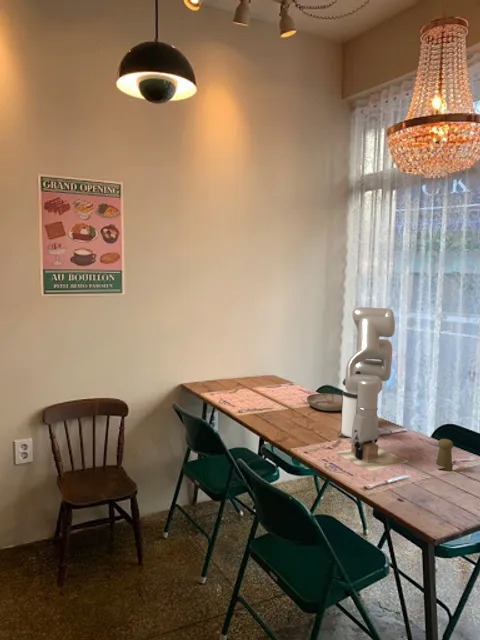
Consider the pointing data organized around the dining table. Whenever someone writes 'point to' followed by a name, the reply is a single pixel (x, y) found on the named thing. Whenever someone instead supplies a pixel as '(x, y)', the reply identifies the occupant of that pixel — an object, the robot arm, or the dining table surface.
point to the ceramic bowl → (326, 401)
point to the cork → (445, 455)
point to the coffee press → (348, 410)
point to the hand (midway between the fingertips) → (364, 456)
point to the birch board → (382, 461)
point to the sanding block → (367, 451)
